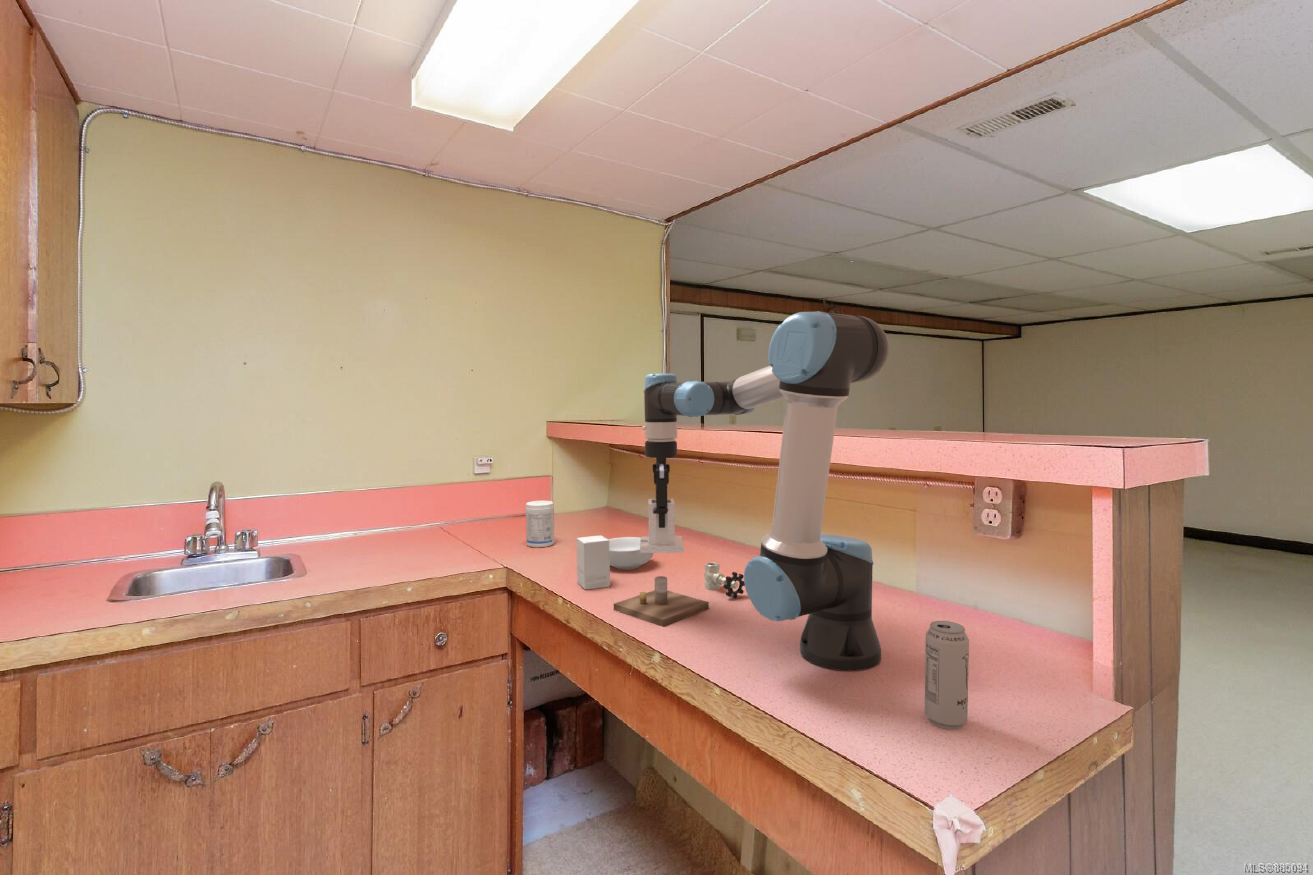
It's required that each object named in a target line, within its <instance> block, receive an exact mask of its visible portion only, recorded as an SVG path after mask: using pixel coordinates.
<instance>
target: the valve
mask: <svg viewBox="0 0 1313 875" xmlns="http://www.w3.org/2000/svg"><path fill="white" fill-rule="evenodd" d="M704 571H705V572H704V576H703V577H704V581H705V582H704V589H706V590H708V591H718V590H719V589H720V586H722V587H723V590H727V592H725V596H726V597H729V598H730V597H732V598H733V599H738V594H740V595H743V594H744V592H745V591H744V590H743V587H745V584H744V574H742V573H739V574H738V572H736V571H732V572H731V575H732V576H728V575H727V576H725V574H724V573H721V572H720V563H718V562H715V561H713V562H705V564H704ZM738 582H739V583H738ZM733 589H735V590H733Z"/></svg>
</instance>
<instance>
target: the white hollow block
mask: <svg viewBox="0 0 1313 875" xmlns="http://www.w3.org/2000/svg"><path fill="white" fill-rule="evenodd" d="M647 501H648V502H647V503H648V535H647V536H646V535H645V536H642V535H641V536H640V553H654V554H660V553H662V554H664V553H665V554H666V553H667V554H671V553H672V554H673V553H680V554H681V553H685V546H684V545H685V544H684V541H683V536H682V535H676V534H675V533H676V532H675V531H676V530H675V528H676V524H675V522H676V521H675V515H676V514H675V513H676V511H675V510H676V509H675V503H676V502H675V499H674V498H667V508H668V512H667V513H668V541H656V514H653V511H656V498H649V499H648V500H647Z"/></svg>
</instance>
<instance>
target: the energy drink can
mask: <svg viewBox="0 0 1313 875" xmlns="http://www.w3.org/2000/svg"><path fill="white" fill-rule="evenodd" d="M965 630H966V628H965V627H964V626H963V625H962V624H960V623H957V622H955V621H950V620H934V621H932V622H930V625H929V628H928V630H927V631H926V633H925V657H924V658H925V662H924V665H925V666H924V669H925V670H924V714H925V716H926V717H927V719H928V721H929V722H930V723H931V724H932V725H934V726H936V727H938V728H941V729H945V730H960V729H962V727H964V724H965V723H967V722H968V705H969V704H968V702H969V698H968V697H969V662H970V661H969V655H970V654H969V653H970V650H969V649H970V647H969V646H970V639H969V637H968V635H967V634H966V632H965Z"/></svg>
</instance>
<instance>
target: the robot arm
mask: <svg viewBox="0 0 1313 875" xmlns="http://www.w3.org/2000/svg"><path fill="white" fill-rule="evenodd" d="M889 351H890V347H889V339H888V336H887V333H885V331H884V329H883V328H882V327H881V326H880V325H879V323H877V322H876V321H874V320H873V319H871V318H869V317H866V316H862V315H854V314H840V313H832V312H824V311H819V310H817V311H799V312H796V313H794V314H791V315H789V316H788V317H786V318H785V319H784V321H783V322H782V323H779V325H778V326H777V328H776V329H775V331H774V333H772V337H771V340H770V342H769V346H768V353H767V355H768V356H767V357H768V364H769V365H768V366H765V367H762V368H760V369H757V370H755V371H752V372H749V373H747V374H745V375H742V376H740V377H737V378H734V379H731V380H729V381H699V380H688V381H678V378H677V376H676V374H674V373H649V374H647V375H646V376H645V378H644V390H643V393H644V394H643V395H644V396H643V399H644V400H643V401H644V402H643V404H644V405H643V406H644V424H645V425H642V426H641V429H642V430H643V431H645V432H644V438H645V439H646V441H645V442H644V455H645V457H647V458H650V459H654V458H655V463H653V464H652V473H653V483H654V485H655V499H656V511H653V514H656V541H668V513H667V512H668V508H667V499H668V484H669V480H670V479H669V478H670V475H669V474H670V471H671V470H670V468H671V467H670V464H669V463H667V459H668V458H669V459H671V458H676V457H677V455H678V441H676V439H677V438H678V417H677V416H681V417H682V416H683V417H689V418H692V417H693V418H694V417H696V418H697V417H701V416H716V415H717V416H718V415H722V416H723V415H735V416H739V415H745V414H750V413H752V412H753V411H754V410H755V408H757V407H760V406H761V407H762V406H763V405H767V404H770V403H773V402H774V403H775V402H777V401H780V400H783V399H785V401H786V403H785V411H784V419H783V428H782V437H781V445H780V446H781V447H780V453H779V462H778V471H777V480H776V488H775V495H774V505H773V514H772V523H771V531H770V532H768V533H767V534H766V535H764V536H763V537H762V538H761V540H760V541H761V542H760V548H759V550H760V551H759V555H758V556H754V557H752V559H750V561H748V562H747V563H746V565H745V568H744V572H743V576H744V577H743V581H744V584H745V586H744V588H745V592H746V594H747V597H748V598H749V600H750V602H751V605H753V607H754V609H755V610H756V611H757V612H758V614H760V615H761V616H762V617H764V618H765V619H768V620H769V621H771V622H772V621H773V622H782V621H792V620H796V619H798V618H799V617H803V616H806V615H808V616H807V619H806V621H805V625H804V627H803V630H802V634H801V637H800V639H799V640H800V641H799V652H800V655H801V656H802V657H803V659H805V660H806V661H808V662H810V663H811V664H813V665H815V666H816V665H817V667H823V668H826V669H829V670H830V669H831V670H835V671H845V672H846V671H850V672H853V671H864V670H869V669H872V668H875V667H876V666H878V665H879V664H880V663H881V660H882V646H881V643H880V640H879V637H878V634H877V633H878V632H877V631H876V627H875V624H874V622H873V614H872V613H873V609H872V608H873V566H874V561H873V549H872V546H871V545H870V544H869V542H866V541H865V540H862V539H858V538H855V537H850V536H843V535H836V534H821V533H822V527H823V526H822V525H823V521H824V520H823V519H824V512H825V511H824V510H825V503H826V497H827V496H826V495H827V491H828V482H829V473H830V467H831V460H832V453H833V445H834V444H833V443H834V437H835V429H836V424H837V416H838V415H837V414H838V407H839V406H840V405H841V403H843V402H844V401H846V400H847V399H848V398H849V396H850V389H851V388H850V387H851V385H852V384H855V383H859V382H865V381H868V380H870V379H873V377H875V376H877V374H878V373H881V371H882V370H883V368H884V367H885V364H886V363H887V361H888V356H889V354H890V353H889Z"/></svg>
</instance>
